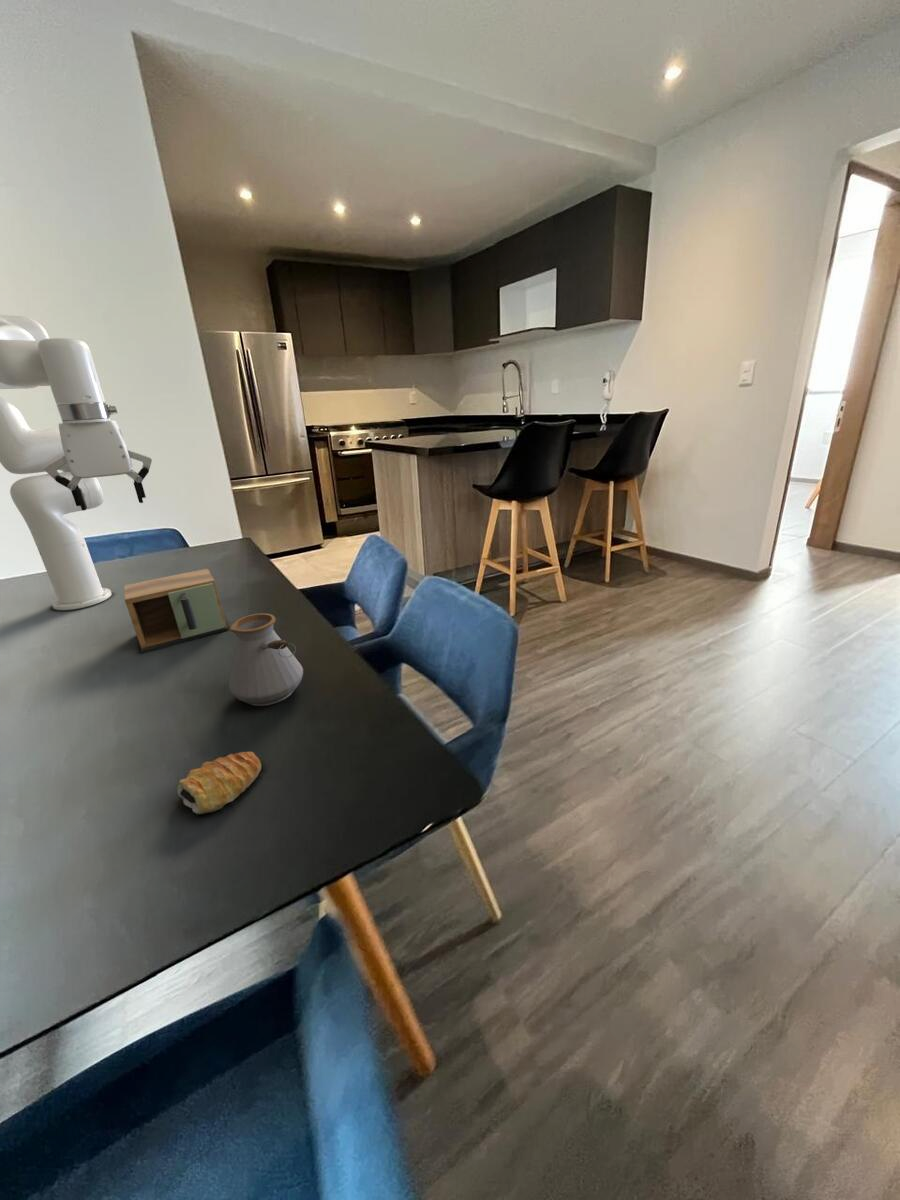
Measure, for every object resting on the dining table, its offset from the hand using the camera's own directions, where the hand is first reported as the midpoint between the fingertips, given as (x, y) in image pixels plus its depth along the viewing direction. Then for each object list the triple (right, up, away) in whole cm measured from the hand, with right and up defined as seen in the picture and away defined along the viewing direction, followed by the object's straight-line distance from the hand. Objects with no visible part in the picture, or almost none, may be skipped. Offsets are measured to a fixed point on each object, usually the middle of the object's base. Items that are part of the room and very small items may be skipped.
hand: (113, 505), depth 98 cm
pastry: (+39, -43, -37) cm, 69 cm away
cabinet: (+10, -25, +8) cm, 28 cm away
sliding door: (+17, -26, +3) cm, 31 cm away
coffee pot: (+41, -36, -21) cm, 58 cm away
